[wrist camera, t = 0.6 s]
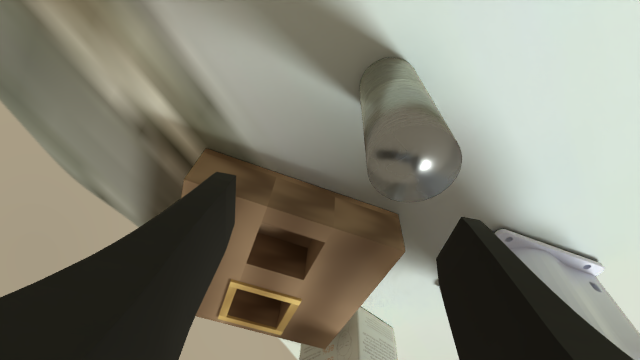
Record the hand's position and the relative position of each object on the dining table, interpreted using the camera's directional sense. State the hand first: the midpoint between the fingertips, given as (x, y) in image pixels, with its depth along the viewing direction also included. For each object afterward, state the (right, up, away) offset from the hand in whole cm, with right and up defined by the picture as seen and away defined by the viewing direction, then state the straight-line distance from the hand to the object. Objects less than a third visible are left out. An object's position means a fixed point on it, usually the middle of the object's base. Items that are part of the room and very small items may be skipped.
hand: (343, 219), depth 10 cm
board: (-4, -4, +16) cm, 17 cm away
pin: (+3, +6, +7) cm, 10 cm away
